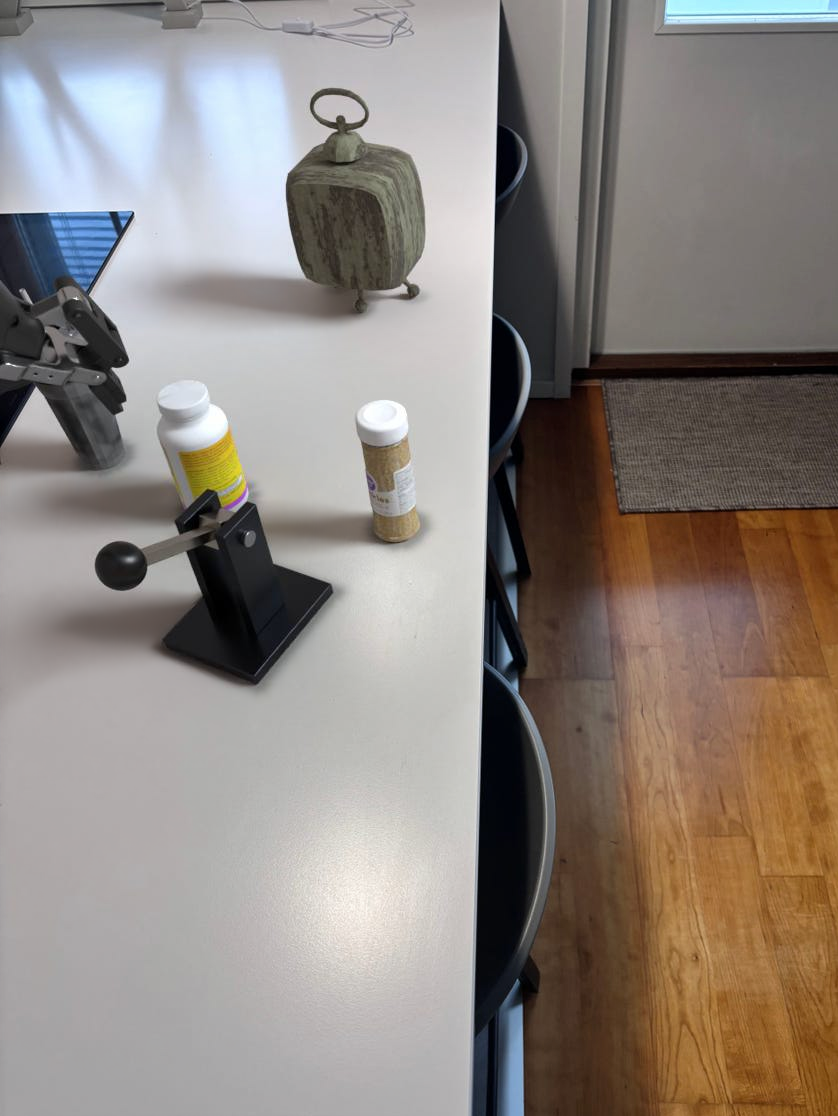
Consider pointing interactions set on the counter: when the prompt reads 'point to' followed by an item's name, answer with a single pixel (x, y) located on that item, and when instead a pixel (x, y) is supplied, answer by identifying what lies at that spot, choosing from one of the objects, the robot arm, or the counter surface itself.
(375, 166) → the tabletop clock
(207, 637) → the bracket
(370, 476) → the sprinkles bottle
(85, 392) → the beverage cup
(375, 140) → the counter surface
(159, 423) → the supplement bottle
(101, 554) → the lever
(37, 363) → the robot arm
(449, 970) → the counter surface
